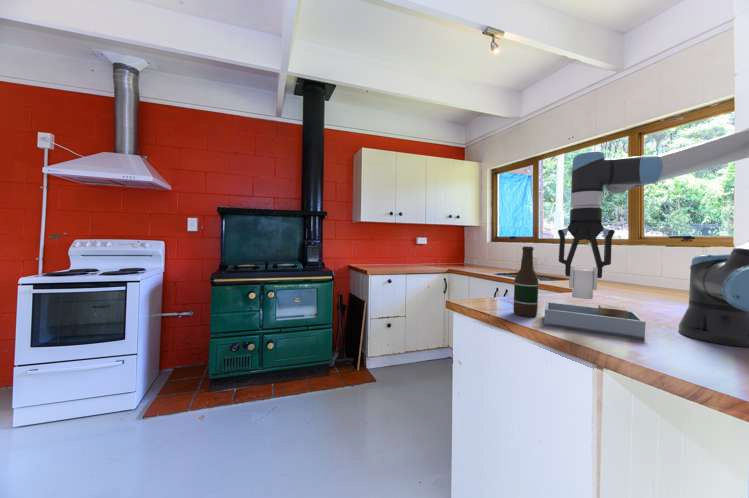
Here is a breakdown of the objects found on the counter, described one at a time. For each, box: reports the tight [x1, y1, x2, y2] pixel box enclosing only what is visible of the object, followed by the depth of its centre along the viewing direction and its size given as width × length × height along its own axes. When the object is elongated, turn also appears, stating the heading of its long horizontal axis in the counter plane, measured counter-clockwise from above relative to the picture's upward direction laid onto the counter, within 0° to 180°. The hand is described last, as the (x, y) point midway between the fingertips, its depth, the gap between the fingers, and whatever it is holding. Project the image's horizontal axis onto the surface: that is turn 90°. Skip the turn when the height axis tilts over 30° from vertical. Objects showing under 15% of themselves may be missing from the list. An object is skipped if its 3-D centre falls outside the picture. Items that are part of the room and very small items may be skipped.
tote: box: [543, 301, 646, 341], centre depth 93 cm, size 24×14×5 cm, turn 59°
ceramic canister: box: [571, 268, 594, 300], centre depth 88 cm, size 5×5×8 cm
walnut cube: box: [598, 303, 628, 319], centre depth 91 cm, size 6×6×6 cm
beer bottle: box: [513, 246, 539, 318], centre depth 107 cm, size 8×8×24 cm
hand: (582, 288), depth 88 cm, fingers closed on ceramic canister, 5 cm apart
